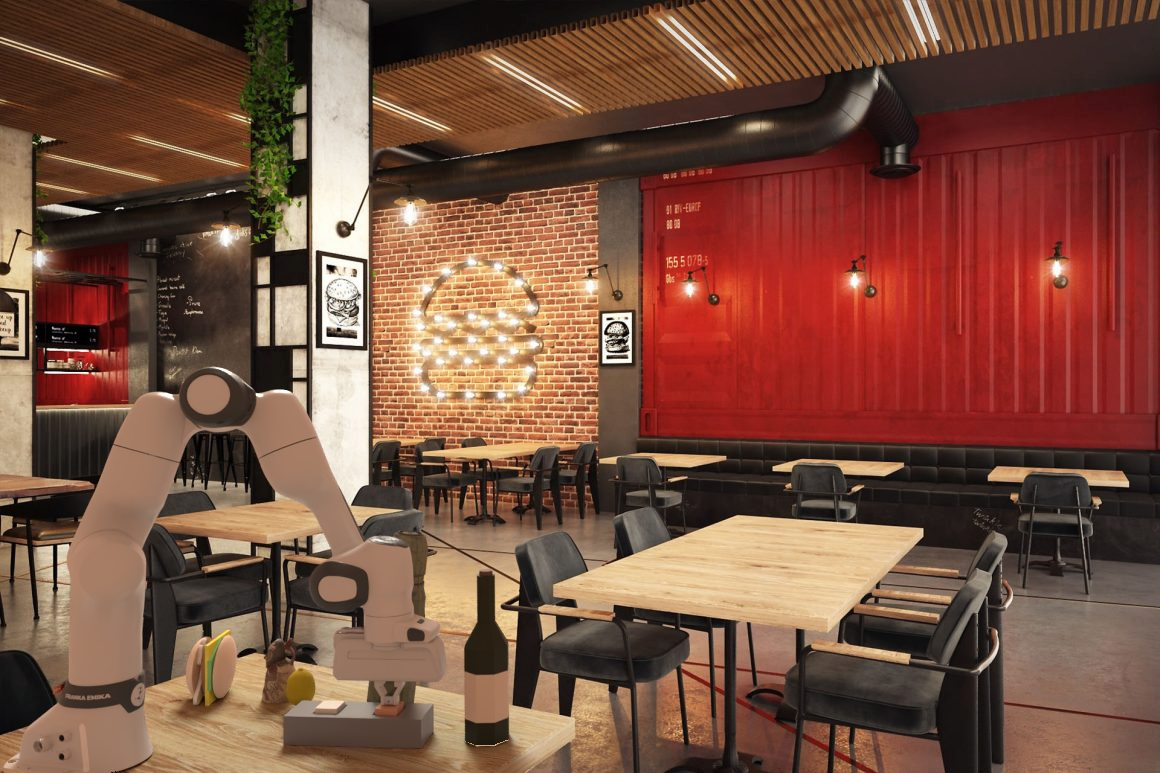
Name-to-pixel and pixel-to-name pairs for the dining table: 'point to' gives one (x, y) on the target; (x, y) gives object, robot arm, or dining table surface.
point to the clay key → (389, 709)
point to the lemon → (300, 686)
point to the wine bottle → (486, 671)
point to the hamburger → (211, 667)
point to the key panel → (358, 726)
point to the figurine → (278, 671)
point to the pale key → (330, 707)
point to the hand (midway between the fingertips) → (390, 704)
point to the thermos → (419, 562)
